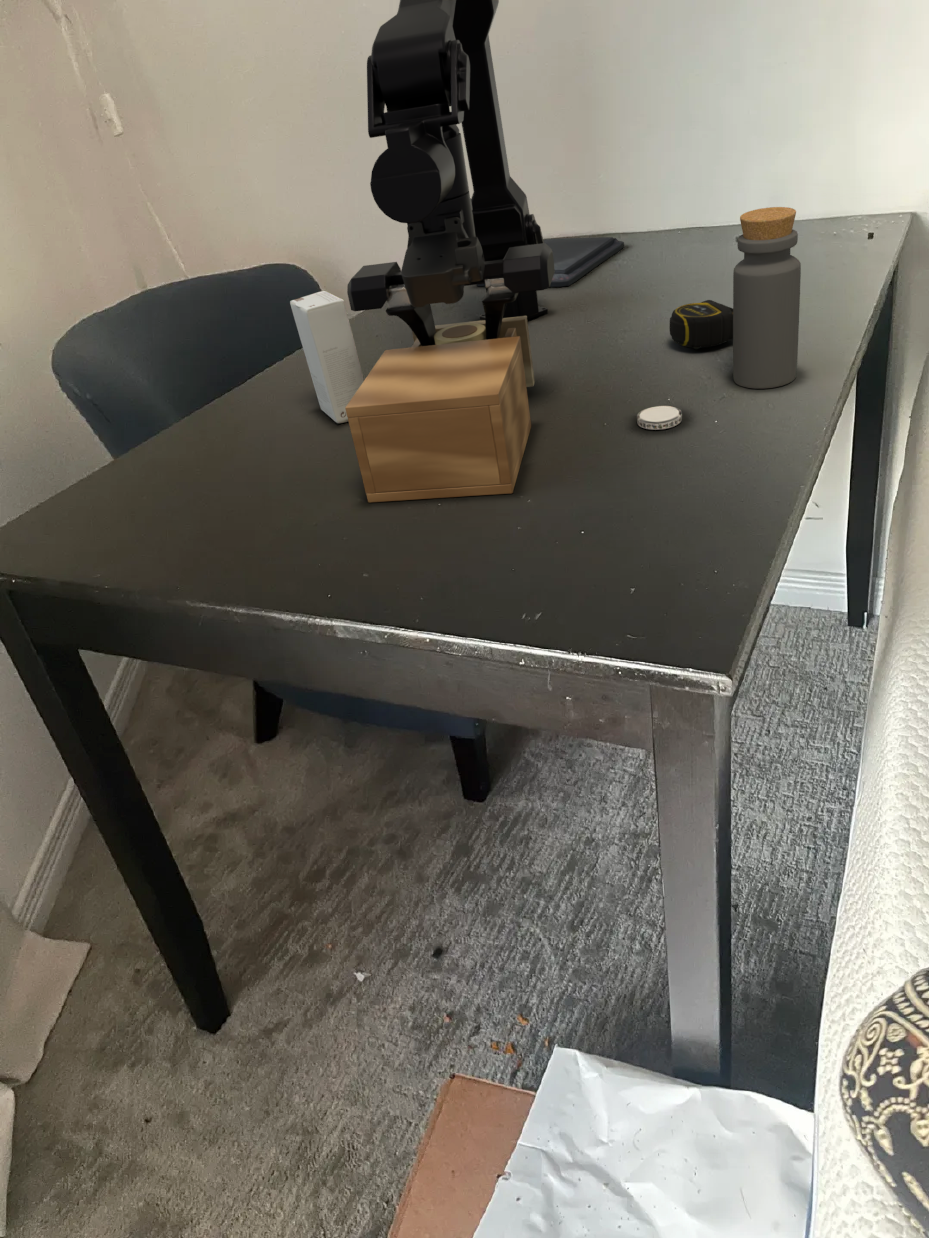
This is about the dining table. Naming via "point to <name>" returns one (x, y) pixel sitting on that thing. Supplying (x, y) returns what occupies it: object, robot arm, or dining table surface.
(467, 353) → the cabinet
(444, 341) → the tape roll
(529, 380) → the drawer
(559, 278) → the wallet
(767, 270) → the bottle
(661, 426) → the cream flat disc
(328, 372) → the cosmetic box
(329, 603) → the dining table surface
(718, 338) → the tape measure
